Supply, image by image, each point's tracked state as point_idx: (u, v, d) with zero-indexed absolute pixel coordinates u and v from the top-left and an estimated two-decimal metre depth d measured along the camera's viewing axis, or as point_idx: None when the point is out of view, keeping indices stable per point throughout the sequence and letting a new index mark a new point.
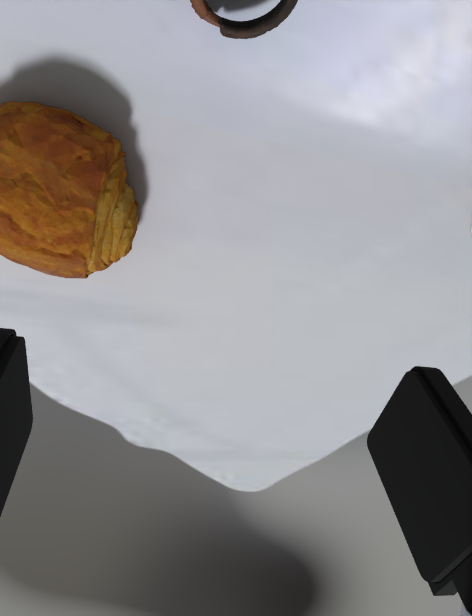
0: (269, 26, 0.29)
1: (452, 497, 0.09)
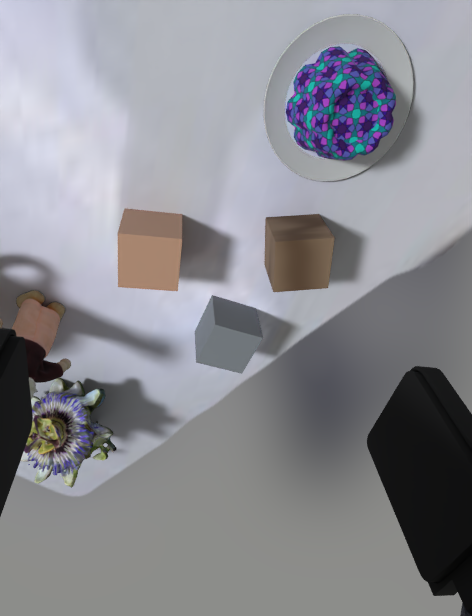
0: None
1: (452, 497, 0.09)
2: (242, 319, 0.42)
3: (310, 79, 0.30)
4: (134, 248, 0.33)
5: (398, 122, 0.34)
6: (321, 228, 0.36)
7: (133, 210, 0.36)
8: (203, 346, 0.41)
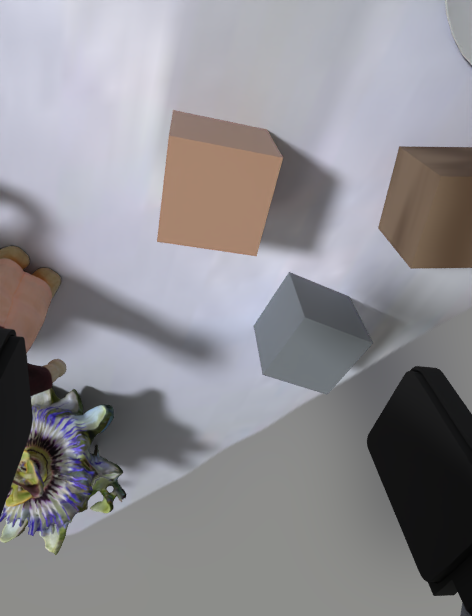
0: None
1: (452, 497, 0.09)
2: (338, 312, 0.27)
3: None
4: (194, 168, 0.18)
5: None
6: None
7: (187, 114, 0.21)
8: (278, 350, 0.26)
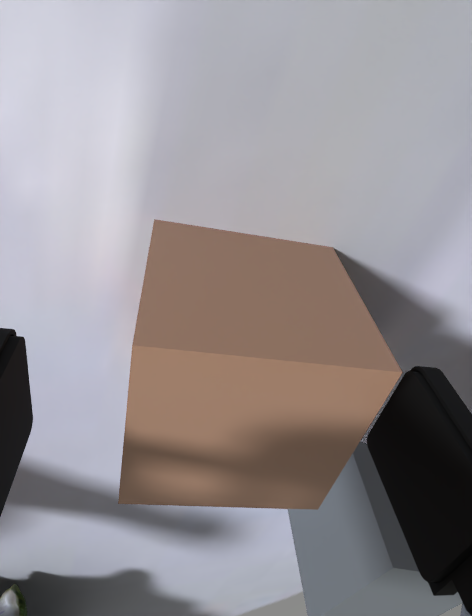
0: None
1: (452, 497, 0.09)
2: None
3: None
4: (196, 398, 0.08)
5: None
6: None
7: (183, 229, 0.11)
8: (338, 597, 0.15)
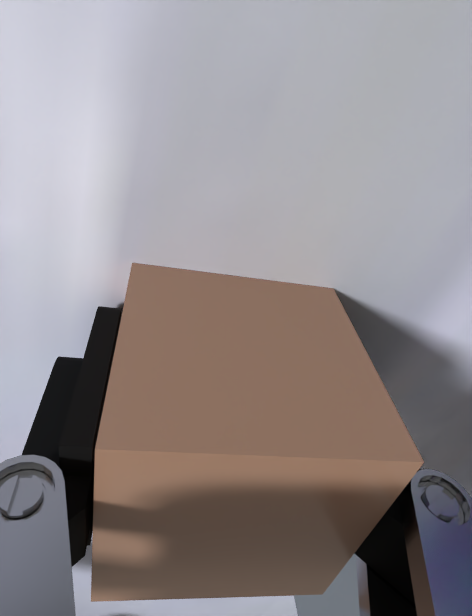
0: None
1: None
2: None
3: None
4: (177, 498, 0.07)
5: None
6: None
7: (164, 276, 0.09)
8: None
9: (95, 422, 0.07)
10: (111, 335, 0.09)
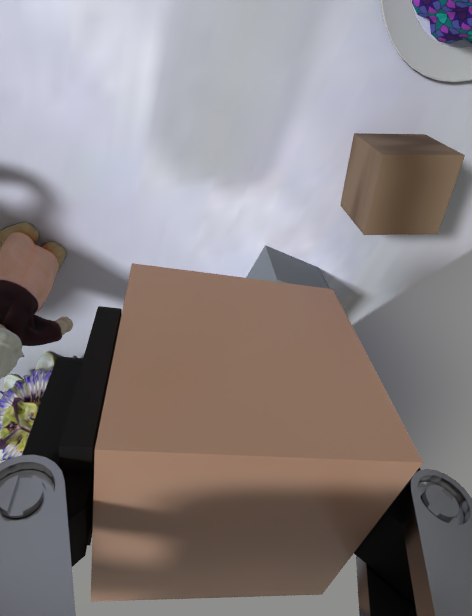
0: None
1: None
2: (307, 277, 0.31)
3: None
4: (177, 499, 0.07)
5: None
6: (439, 146, 0.26)
7: (164, 277, 0.09)
8: None
9: (95, 422, 0.07)
10: (111, 335, 0.09)
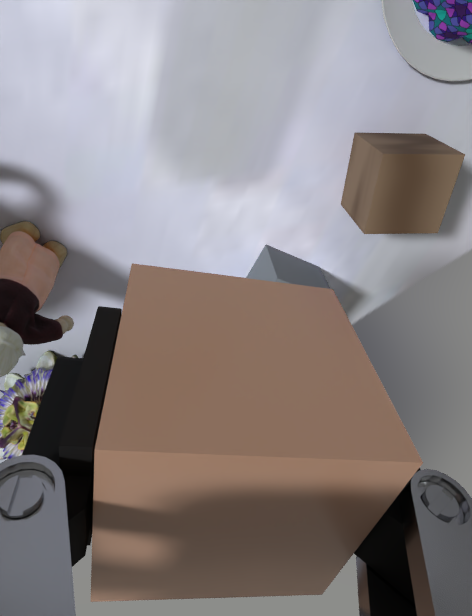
0: None
1: None
2: (307, 277, 0.31)
3: None
4: (177, 499, 0.07)
5: None
6: (439, 145, 0.26)
7: (164, 276, 0.09)
8: None
9: (95, 422, 0.07)
10: (111, 335, 0.09)
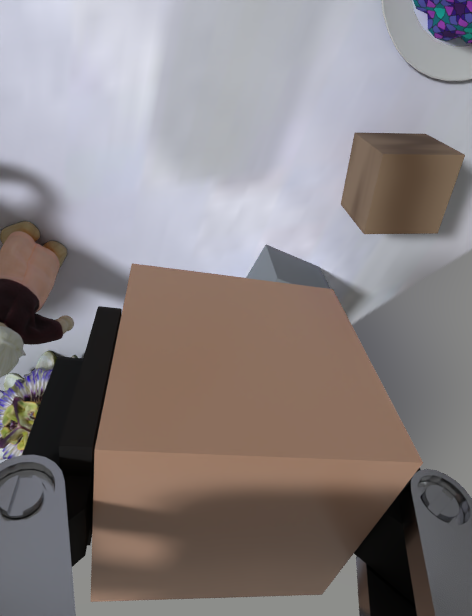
0: None
1: None
2: (307, 277, 0.31)
3: None
4: (177, 499, 0.07)
5: None
6: (439, 146, 0.26)
7: (164, 276, 0.09)
8: None
9: (95, 422, 0.07)
10: (111, 335, 0.09)
